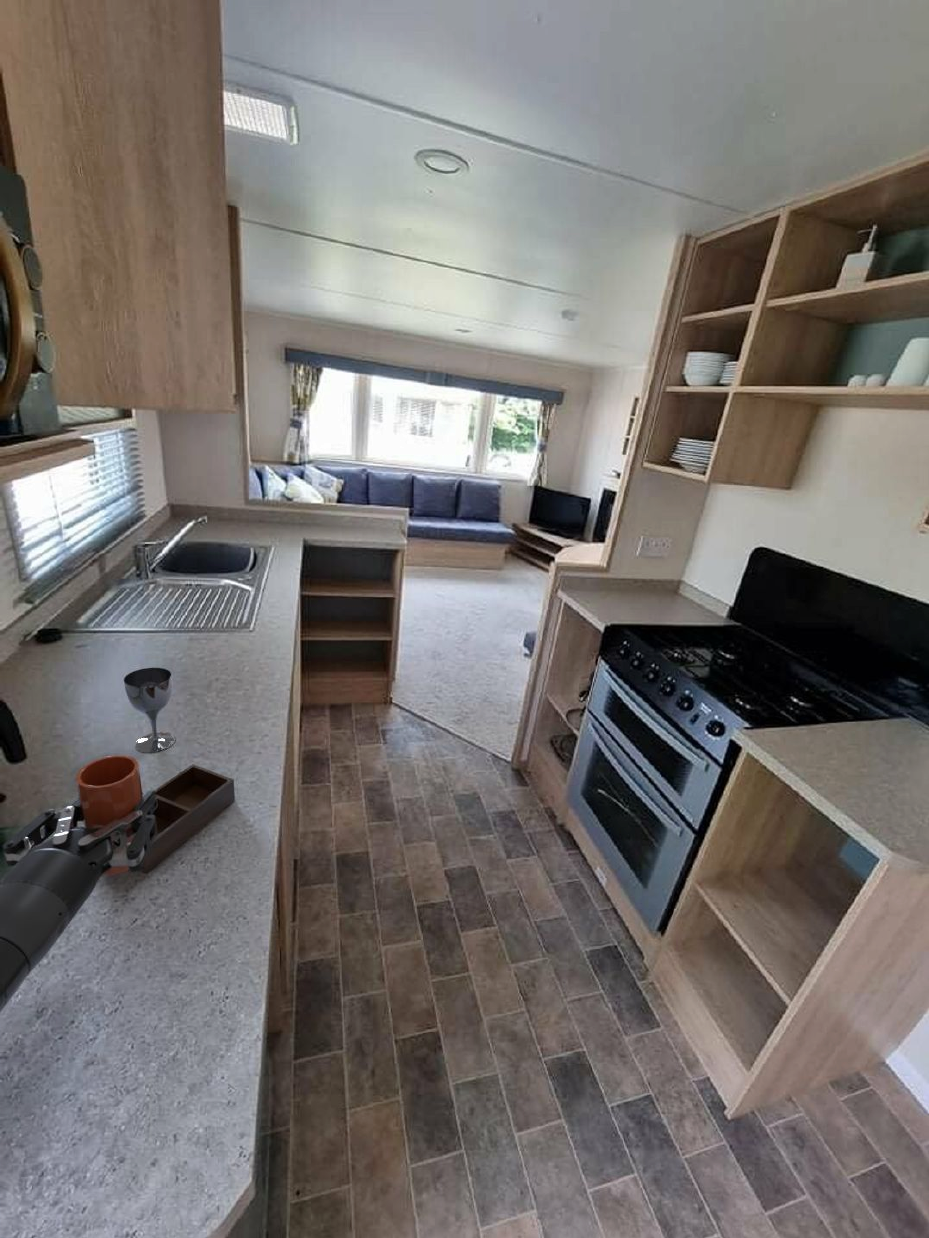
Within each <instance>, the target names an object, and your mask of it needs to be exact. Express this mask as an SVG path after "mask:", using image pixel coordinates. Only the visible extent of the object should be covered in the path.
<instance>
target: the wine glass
mask: <svg viewBox="0 0 929 1238" xmlns="http://www.w3.org/2000/svg"><path fill="white" fill-rule="evenodd" d="M123 685H124V692H125V695H126V698H127V701H128V702H129V705H130V706H131V708H133V709H134V710H135V711H136V712H138V713H140V714H142V715H144V716H145V717H146V718H147V719H148V720H149V724H150V726H151V727H150V728H151V733H148V734H145V735H146V736H145V735H143V736H142V737H140V738H141V739H140V738H139V739H138V740H137V741H138V743H136V742H135V744H136V745H134V747H135V749H136V750H137V751H138V750H139V751H138V752H141V753H145V754H146V753H148V754H149V753H151V752H152V753H157V752H156V751H157V750H158V752H161V751H160V750H161V749H163V748H164V747H168V746H169V744H170V743H171V742H170V741H174V738H173V737H172V736H171V734H172V733H171V734H169V733H170V732H168V733H163V732H164V731H159V732H160V733H157V732H158V731H157V721H158V716H159V714H160V713H161V712H162V711H163V710H164V709H165V707H166V706H168V704H169V703H170V702H171V701H170V700H171V698H172V692H173V675H172V672H171V671H170V670H169V669H167V668H162V667H146V668H140V669H137V670H133V671H131V672H129V673H128V674H127V675H125V676H124V678H123ZM170 745H171V744H170ZM137 748H138V749H137Z"/></svg>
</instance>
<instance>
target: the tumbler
mask: <svg viewBox="0 0 929 1238" xmlns="http://www.w3.org/2000/svg"><path fill="white" fill-rule="evenodd" d="M75 784H76V788H77V794H78V798H79V800H80V806H81V811H82V817H83V821H82V822H83V827H84V828H87V829H93V828H102V827H104V826H105V825H107V824H108V823H110V822H112V821H113V820H115V819H117V820H121V819H122V818H124V817H125V816H127V815H128V814H130V813H132V812H133V809H134V807H135V806H136V805H137V804H138V803H139V801H140V800H141V798H142V797H143V796H144V794H143V788H142V781H141V773H140V765H139V762H138V760H137V759H136V758H135V757H133V756H129V755H122V754H116V755H109V756H103V757H101V758H98V759H97V758H96V759H94V760H92V761H90V762H89V763H87V764H86V765H84V766H83V767H82V768H81V769H79V771H78V772H77V773H76V776H75ZM130 827H132V824H131V825H130V826H128V827H127V828H126V830H127V829H129V828H130ZM110 836H111V841H112V842H113V840H114V837H113V834H111V835H110ZM133 838H134V837H133ZM133 838H132V839H130V840H129V841H128V842H132V840H133ZM125 847H126V846H125ZM123 849H124V848H123ZM123 849H121V850H120V851H122V850H123ZM120 851H119V852H120ZM117 853H118V852H117ZM128 871H130V870H129V867H128V866H113V867H112V868H111V869H110V870H109V871H107V872H106V873H104V874H103V875H104V876H114V875H119V874H122V873H125V872H128ZM103 875H102V876H103Z"/></svg>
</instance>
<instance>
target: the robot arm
mask: <svg viewBox="0 0 929 1238" xmlns="http://www.w3.org/2000/svg"><path fill="white" fill-rule="evenodd" d="M157 807H158V802H157V795H155V791H154V790H147V791H146V792H145V793H144V794H143V797H142V798H141V800H140V801H139V803H138V804H137V805H136V806H135V807H134V809H133V812H132V813H130V814H128V815H127V816H125V817H124V818H122V819H121V820H117V819H115V820H113V821H112V822H110V823H108V824H107V825H105V826H104V827H102V828H93V829H87V828H84V826H79V825H78V822H83V817H82V811H81V806H80V800H79V797H78V798H76V799H75V800H74V802H73V803H72V804H71V805H70V806H66V807H64V808H62V810H60V811H55V809H53V808H48V809H46V810H44V811H42V812H41V813H40V814H38V816H36V817H35V818H34V819H32V821H30V822H29V823H28V824H26V825H25V826H24V827H23V828H22V829H21V830H19V831H18V832H17V833H15V835H13V836H12V837H10V839H8V840H7V841H5V843H3V845H2V849H3V850H2V851H3V855H4V858H5V861H6V865H7V866H8V867H12V868H11V869H9V870H8V872H7V873H6V874H5V875H4V876H3V877H2V878H1V879H0V1013H1V1012H2V1011H3V1010H4V1008H5V1007H6V1006H7V1004H8V1003H9V1002H10V1000H11V999H12V997H13V996H14V995H15V994H16V992H17V991H18V990H19V988H20V986H22V984H23V983H24V981H25V980H26V979H27V977H28V976H29V974H30V973H32V971H33V970H34V969H35V968H36V967H37V965H38V964H39V963H41V961H42V960H43V959H44V958H45V957H46V955H47V954H48V953H49V952H50V951H51V949H52V948H53V947H54V945H55V944H56V942H57V941H58V940H59V938H60V937H61V936H62V935H63V933H64V932H65V930H66V929H67V927H68V926H69V924H70V923H71V922H72V921H73V919H74V918H75V916H76V915H77V913H78V912H79V911H80V909H81V908H82V907H83V905H84V904H85V902H86V901H87V900H88V898H89V897H90V896H91V894H93V892H94V889H95V888H96V886H97V884H98V882H99V880H100V878H101V877H102V876H103V874H104V873H106V872H107V871H109V870H110V869H111V868H112V867H113V866H128V867H129V870H128V871H129V872H138V871H140V870H139V869H140V868H141V867H142V865H143V862H144V860H145V858H146V856H147V854H148V852H149V850H150V848H151V846H152V844H153V842H154V839H155V837H156V835H157V826H156V818H155V816H154V815H152V814H153V812H154V811H155V810H156V808H157ZM131 824H132V827H130V828H129V829H127V830H126V828H127V827H128V826H130V825H131ZM53 834H54V835H53ZM111 834H113V837H114V840H113V842H112V841H111V836H110V835H111ZM52 835H53V837H51V836H52ZM49 837H51V838H49ZM133 837H134V838H133ZM48 838H49V839H48ZM132 838H133V840H132V842H128V841H129V840H130V839H132ZM125 846H126V847H125ZM123 848H124V849H123ZM121 849H123V850H122V851H120V850H121ZM119 851H120V852H119ZM117 852H118V853H117Z"/></svg>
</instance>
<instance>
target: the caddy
mask: <svg viewBox="0 0 929 1238" xmlns="http://www.w3.org/2000/svg"><path fill="white" fill-rule="evenodd" d="M153 791H155V795H157V802H158V807H157V808H156V810H155V811H154V812H153V814H152V815H154V816H155V818H156V826H157V835H156V837H155V839H154V842H153V844H152V846H151V848H150V850H149V852H148V854H147V856H146V858H145V860H144V862H143V865H142V867H141V868H140V869H139V870H138V871H140V872H142V873H144V874H149V873H150V872H151V871H152V870H153V869H154V868H156V867H157V866H159V864H161V863H162V862H163V861H164V860H165V859H167V858H168V857H169V856H170V855H171V854H173V853H174V852H175V851H176V850H177V849H179V848H180V847H181V846H182V845H183V844H185V843H186V842H187V841H188V840H190V839H191V838H192V837H193V836H194V835H195V834H197V833H198V832H199V831H200V830H201V829H203V828H204V827H205V826H206V825H207V824H209V822H211V821H212V820H213V819H214V818H215V817H217V816H218V815H219V814H220V813H222V812H223V811H224V810H225V809H227V807H229V806H230V805H231V804H232V803H234V802H235V801H236V795H235V794H236V793H235V780H234V779H233V778H230V777H228V776H226V775H223V774H220V773H218V772H215V771H212V770H211V769H207V768H204V767H202V766H199V765H197V764H195V763H192V764H191V765H190V766H188V767H186V768H185V769H184V770H182V771H180V772H179V773H178V774H176V775H175V776H173V777H172V778H170V779H169V780H167V781H166V782H164V783H163V784H161V785H160V786H159V787H157V788H156V789H154V790H153Z"/></svg>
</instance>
